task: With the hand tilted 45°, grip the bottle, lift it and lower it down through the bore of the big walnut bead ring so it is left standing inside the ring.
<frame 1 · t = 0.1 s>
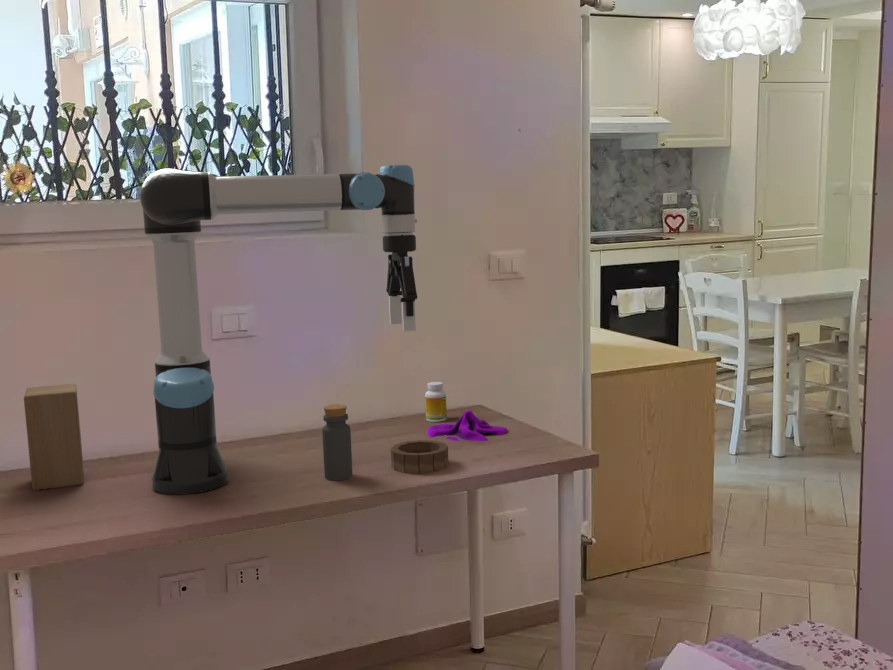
hand: (402, 327, 221), 28 cm above the table, tool pointing down, fingers open, 13 cm apart
supplement bottle: (436, 420, 250), on the table
wooden block: (59, 482, 205), on the table
bottle: (338, 477, 202), on the table
cloth: (469, 436, 235), on the table
bead ring: (419, 465, 209), on the table
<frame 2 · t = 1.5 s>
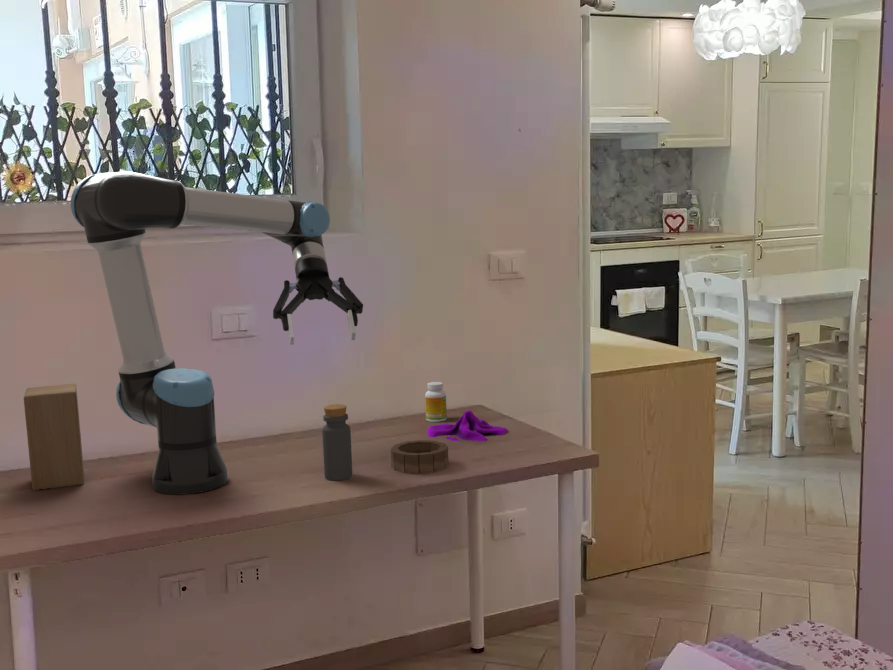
hand: (323, 338, 213), 27 cm above the table, tool tilted 45°, fingers open, 13 cm apart
nothing on the table moved.
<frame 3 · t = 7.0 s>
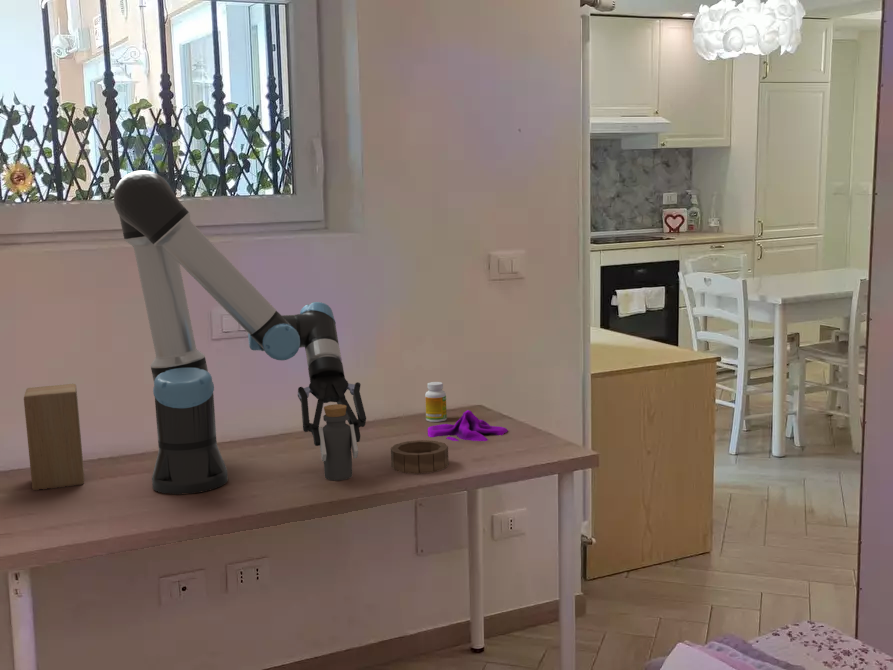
hand: (340, 456, 198), 5 cm above the table, tool tilted 45°, fingers closed on bottle, 6 cm apart
bottle: (338, 477, 202), on the table, touching gripper
everything else where it was.
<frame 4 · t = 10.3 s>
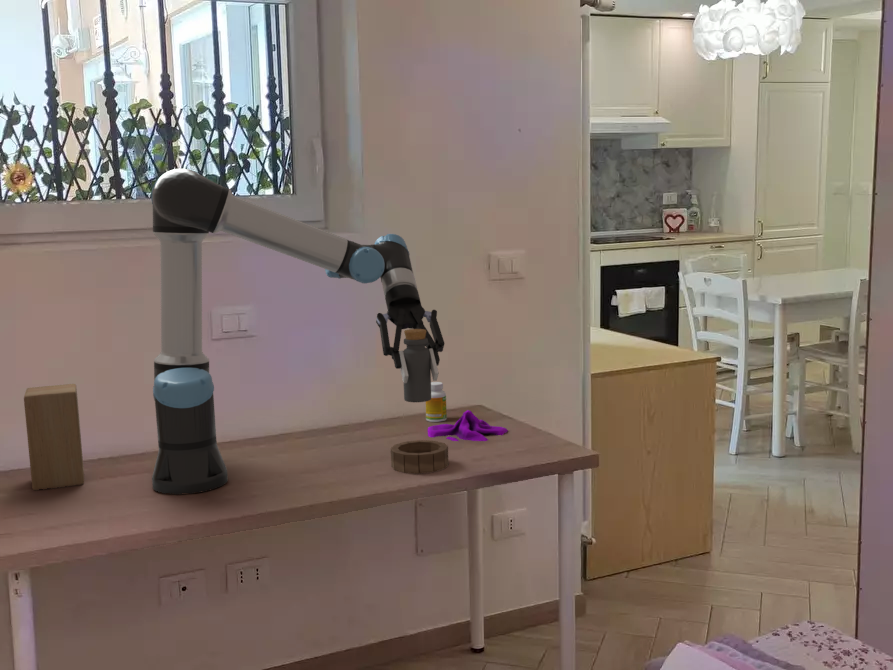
hand: (420, 378, 202), 20 cm above the table, tool tilted 45°, fingers closed on bottle, 6 cm apart
bottle: (417, 400, 207), point 14 cm above the table, touching gripper
everything else where it was.
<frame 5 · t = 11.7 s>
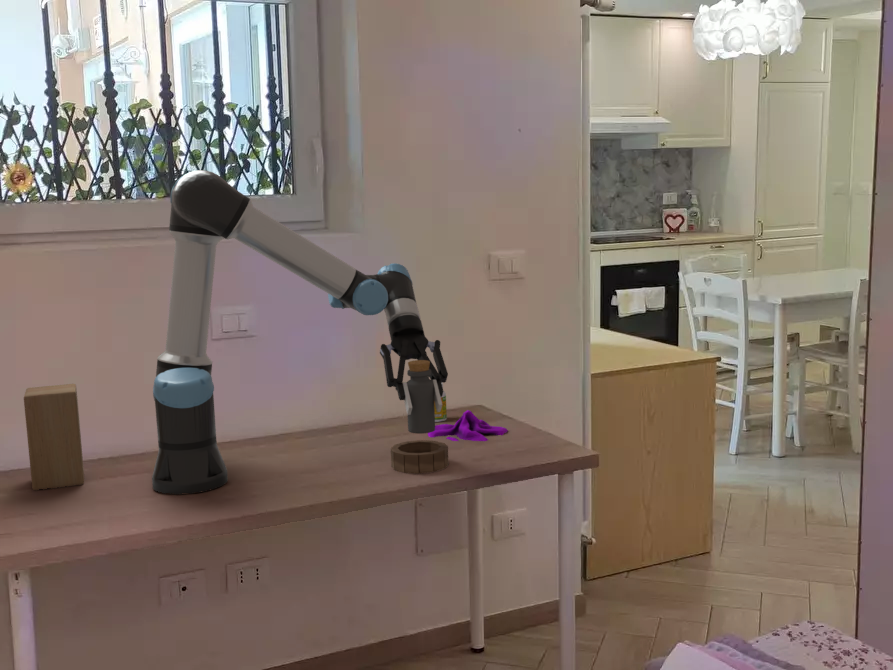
hand: (424, 409, 203), 13 cm above the table, tool tilted 45°, fingers closed on bottle, 6 cm apart
bottle: (421, 431, 208), point 7 cm above the table, touching gripper
everything else where it was.
when the fingers open (7 cm above the table, at t = 13.9 s): bottle drops 1 cm, resting in bead ring.
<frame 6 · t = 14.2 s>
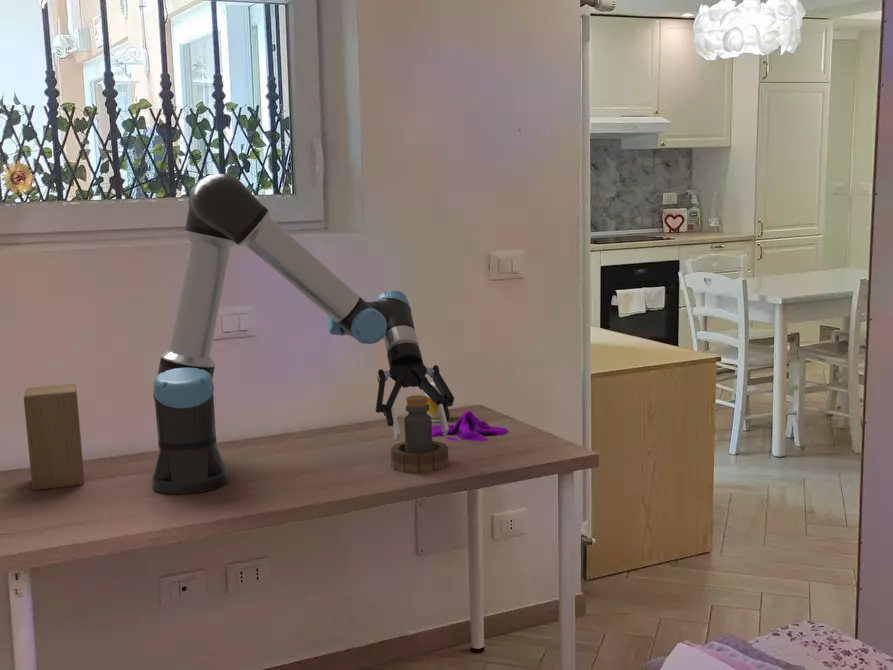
hand: (422, 435, 205), 7 cm above the table, tool tilted 45°, fingers open, 10 cm apart
bottle: (419, 466, 209), resting in bead ring
everything else where it was.
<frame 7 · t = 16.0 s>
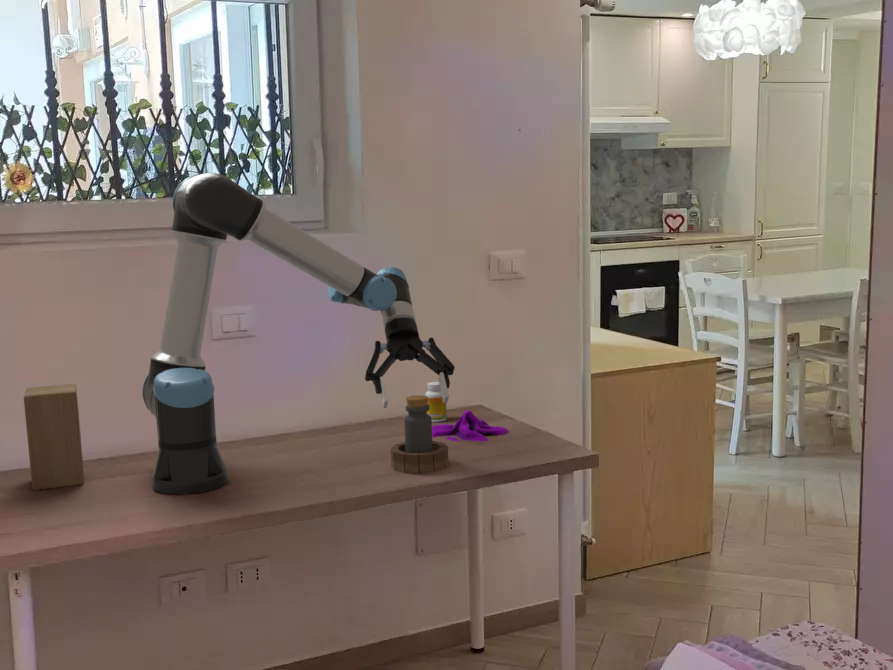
hand: (416, 402, 211), 13 cm above the table, tool tilted 45°, fingers open, 13 cm apart
nothing on the table moved.
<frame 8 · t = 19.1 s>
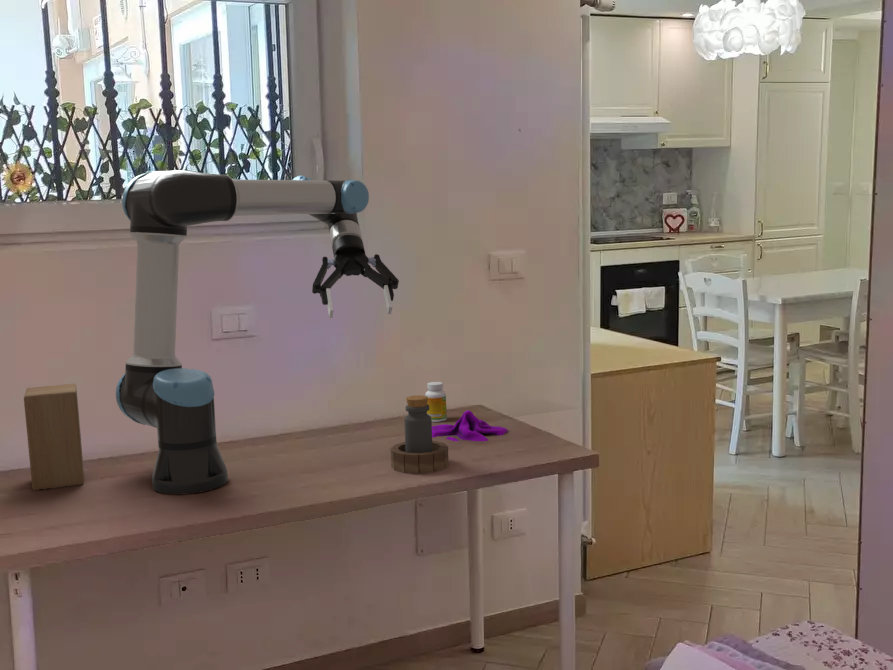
hand: (361, 312, 221), 32 cm above the table, tool tilted 45°, fingers open, 13 cm apart
nothing on the table moved.
at the end: bottle 0.1 cm off-centre on the bead ring, point 0.0 cm above the bead ring's base; bottle tilted 0°; the gripper is holding nothing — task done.
